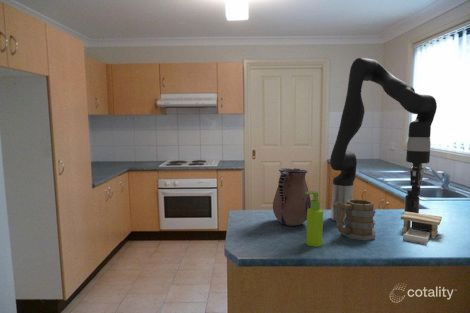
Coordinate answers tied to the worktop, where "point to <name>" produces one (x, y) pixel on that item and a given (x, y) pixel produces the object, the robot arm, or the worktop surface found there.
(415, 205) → the supplement bottle
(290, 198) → the ceramic pitcher
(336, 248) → the worktop surface
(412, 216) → the small wooden table
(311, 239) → the soap dispenser
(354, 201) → the tankard
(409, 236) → the white pull-out drawer
